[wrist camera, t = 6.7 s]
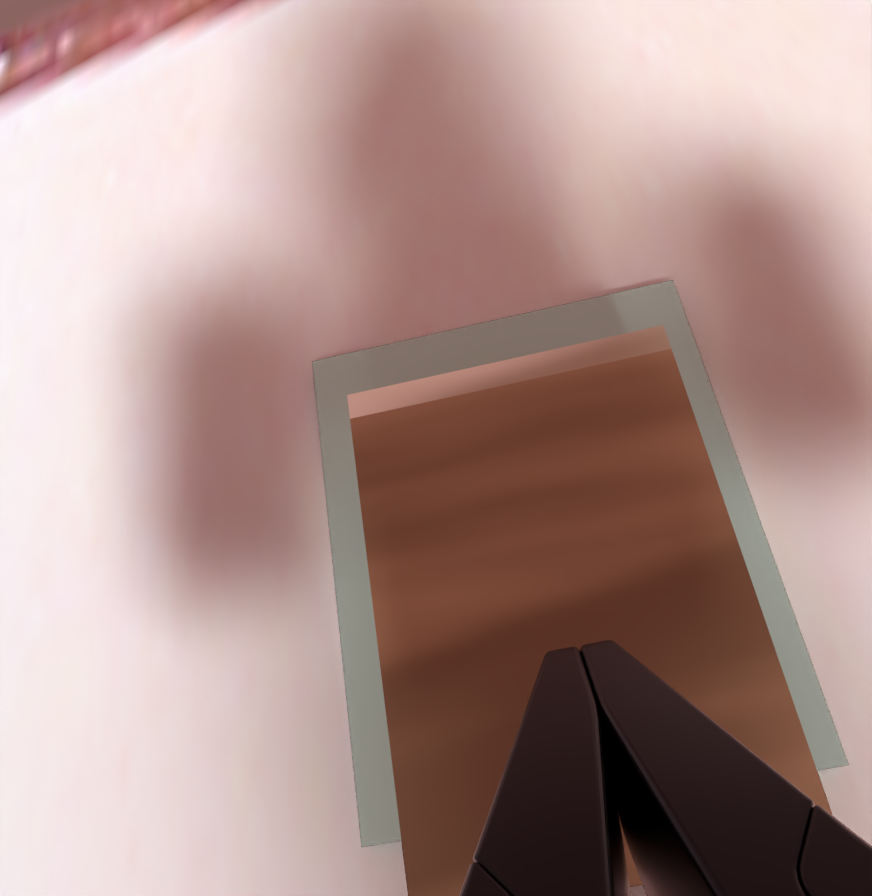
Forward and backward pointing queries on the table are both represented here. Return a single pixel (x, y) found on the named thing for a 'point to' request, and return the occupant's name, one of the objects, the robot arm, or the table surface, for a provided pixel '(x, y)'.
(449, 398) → the slab
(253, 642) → the table surface
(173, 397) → the table surface
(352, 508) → the mat
